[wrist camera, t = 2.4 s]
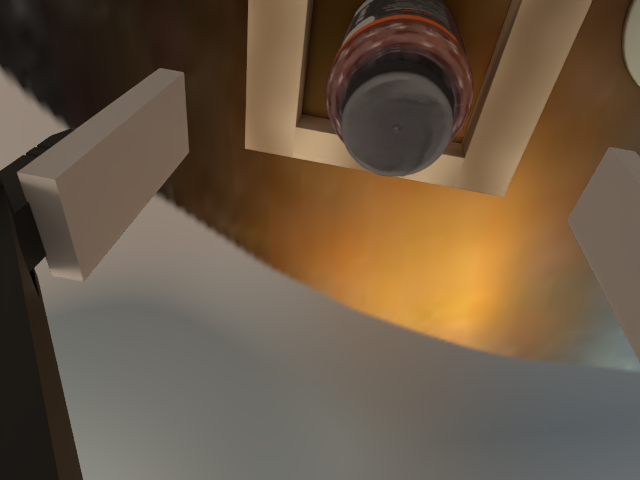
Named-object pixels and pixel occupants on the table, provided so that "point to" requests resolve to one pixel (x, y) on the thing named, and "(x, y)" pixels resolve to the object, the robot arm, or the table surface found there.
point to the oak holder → (487, 117)
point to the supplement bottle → (399, 85)
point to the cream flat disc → (632, 40)
